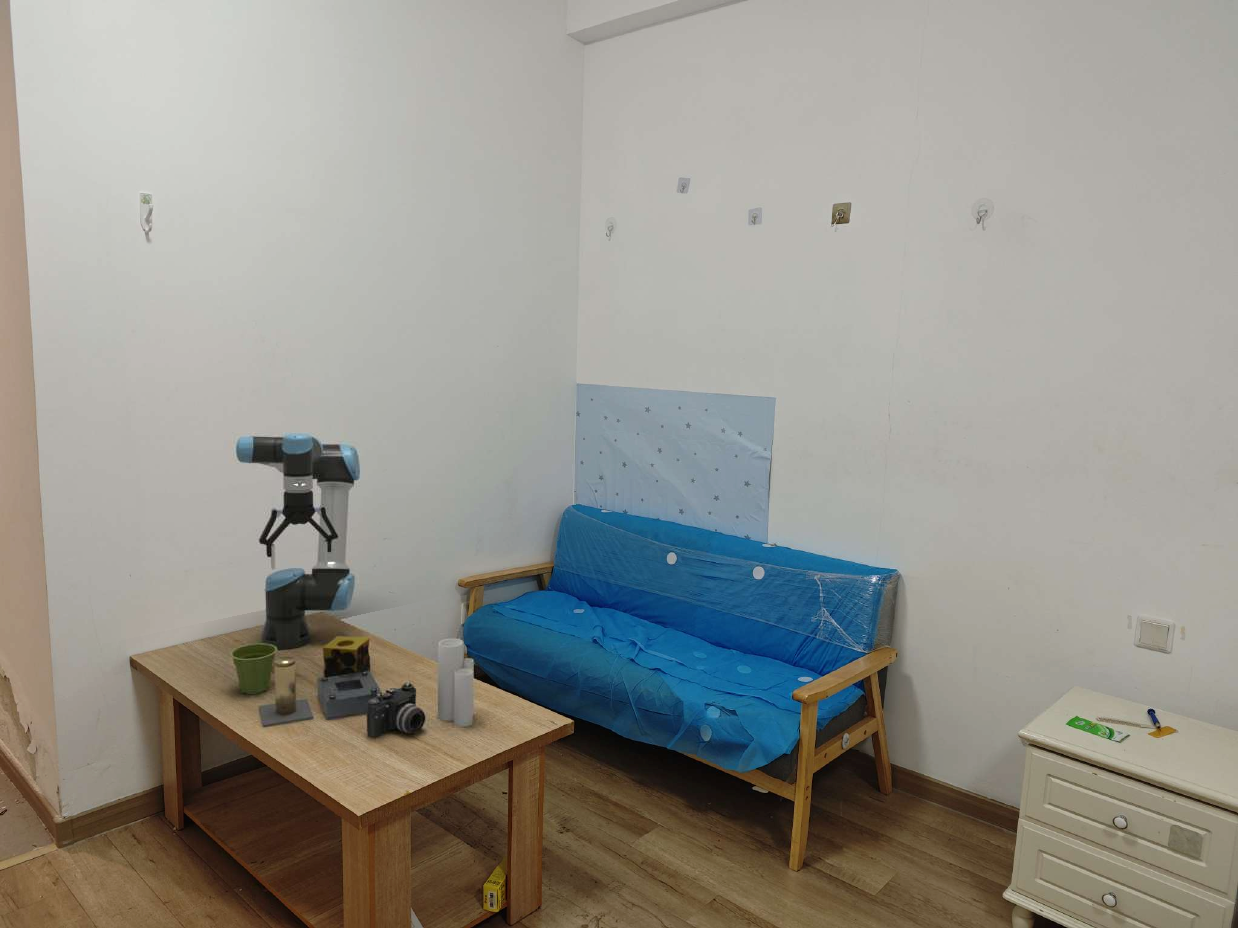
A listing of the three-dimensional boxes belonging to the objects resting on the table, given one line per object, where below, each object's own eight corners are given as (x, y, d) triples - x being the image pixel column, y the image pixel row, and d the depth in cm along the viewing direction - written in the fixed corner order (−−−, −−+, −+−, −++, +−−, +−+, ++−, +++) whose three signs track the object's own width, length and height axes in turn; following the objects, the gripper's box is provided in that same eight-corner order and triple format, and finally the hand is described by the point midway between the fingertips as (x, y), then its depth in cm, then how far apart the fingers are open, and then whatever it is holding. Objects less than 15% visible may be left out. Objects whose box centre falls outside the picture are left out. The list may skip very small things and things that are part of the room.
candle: (371, 669, 245) (370, 637, 244) (357, 682, 236) (356, 649, 234) (338, 667, 246) (337, 635, 245) (323, 680, 236) (322, 647, 235)
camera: (392, 747, 199) (392, 708, 198) (362, 734, 205) (362, 696, 203) (435, 726, 211) (435, 689, 210) (405, 714, 217) (405, 678, 215)
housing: (317, 695, 226) (317, 676, 225) (369, 687, 232) (369, 668, 232) (326, 719, 212) (326, 699, 211) (382, 710, 218) (382, 690, 218)
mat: (258, 708, 217) (258, 705, 217) (307, 700, 223) (307, 698, 223) (263, 727, 207) (263, 724, 206) (313, 718, 212) (313, 716, 212)
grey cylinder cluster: (432, 716, 216) (432, 643, 213) (451, 707, 222) (451, 636, 219) (464, 728, 210) (465, 653, 207) (483, 718, 216) (484, 645, 213)
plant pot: (224, 688, 228) (223, 650, 226) (266, 677, 237) (265, 640, 235) (242, 702, 220) (241, 662, 219) (285, 690, 229) (284, 651, 227)
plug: (274, 708, 216) (273, 657, 214) (295, 705, 218) (294, 655, 216) (276, 716, 211) (274, 664, 209) (297, 713, 213) (296, 661, 211)
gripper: (249, 495, 215) (251, 573, 218) (348, 490, 227) (348, 565, 230) (247, 490, 222) (249, 566, 225) (343, 486, 234) (344, 558, 237)
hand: (299, 566), depth 227 cm, fingers open, 13 cm apart
